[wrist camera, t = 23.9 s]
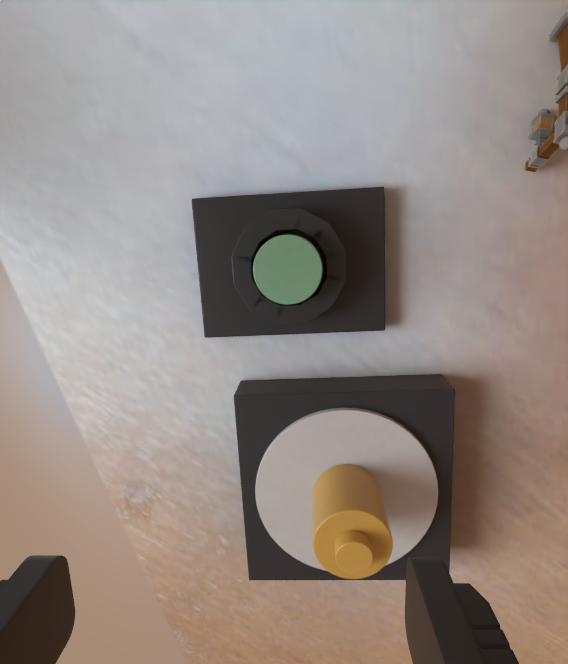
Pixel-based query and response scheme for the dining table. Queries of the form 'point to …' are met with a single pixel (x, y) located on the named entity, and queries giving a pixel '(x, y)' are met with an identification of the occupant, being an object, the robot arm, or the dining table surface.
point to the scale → (344, 448)
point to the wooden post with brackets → (564, 130)
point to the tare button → (287, 269)
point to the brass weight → (350, 523)
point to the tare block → (318, 228)
